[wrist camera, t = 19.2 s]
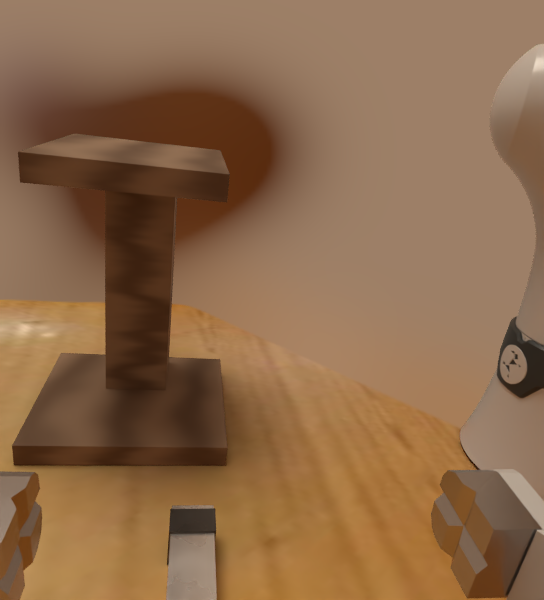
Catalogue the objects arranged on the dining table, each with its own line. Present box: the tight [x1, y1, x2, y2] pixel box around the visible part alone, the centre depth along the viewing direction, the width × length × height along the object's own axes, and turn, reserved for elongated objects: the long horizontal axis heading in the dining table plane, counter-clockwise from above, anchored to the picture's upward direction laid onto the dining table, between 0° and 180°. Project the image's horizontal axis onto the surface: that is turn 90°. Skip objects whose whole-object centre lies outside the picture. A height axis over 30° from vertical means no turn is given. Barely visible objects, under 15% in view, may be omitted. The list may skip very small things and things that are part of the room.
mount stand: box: [12, 134, 230, 465], centre depth 46 cm, size 18×16×26 cm
